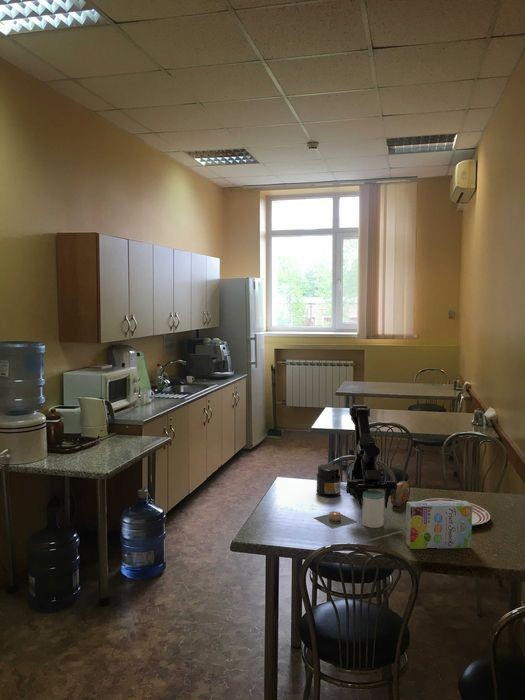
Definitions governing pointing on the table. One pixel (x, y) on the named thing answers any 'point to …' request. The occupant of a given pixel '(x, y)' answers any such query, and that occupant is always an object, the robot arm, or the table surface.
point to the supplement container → (328, 480)
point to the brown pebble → (335, 516)
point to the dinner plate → (477, 512)
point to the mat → (332, 524)
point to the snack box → (438, 524)
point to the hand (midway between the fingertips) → (373, 508)
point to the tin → (401, 494)
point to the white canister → (373, 509)
